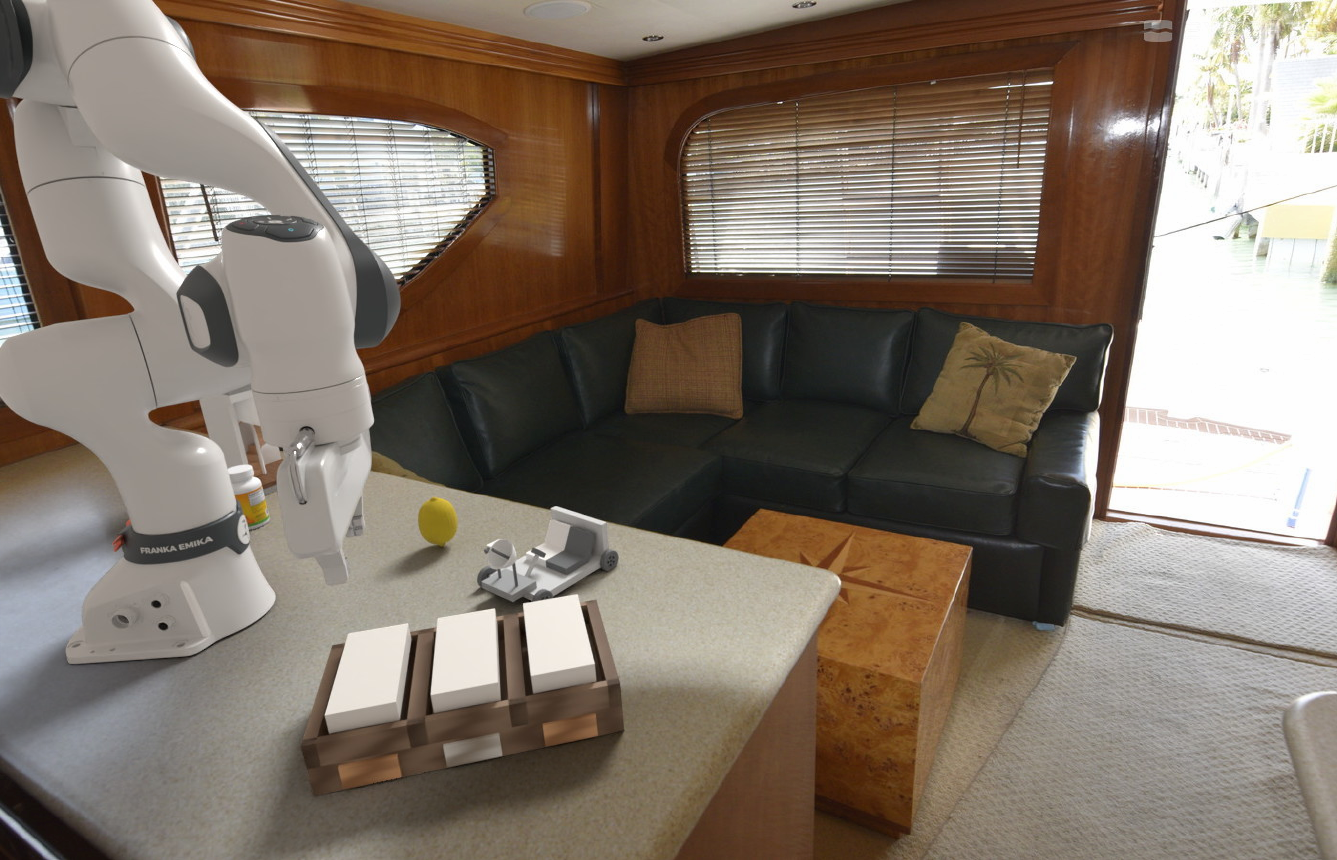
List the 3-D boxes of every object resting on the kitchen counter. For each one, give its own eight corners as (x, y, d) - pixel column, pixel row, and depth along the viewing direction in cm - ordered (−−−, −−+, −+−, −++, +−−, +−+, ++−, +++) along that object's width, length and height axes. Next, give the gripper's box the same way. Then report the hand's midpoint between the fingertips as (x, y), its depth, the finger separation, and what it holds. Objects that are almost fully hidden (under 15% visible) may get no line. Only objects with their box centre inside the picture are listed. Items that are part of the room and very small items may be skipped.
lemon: (450, 555, 108) (442, 505, 106) (415, 554, 110) (406, 504, 107) (467, 538, 114) (459, 490, 111) (434, 536, 115) (425, 488, 112)
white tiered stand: (255, 499, 133) (205, 302, 121) (223, 489, 138) (172, 299, 127) (313, 476, 142) (272, 291, 130) (281, 468, 147) (238, 289, 136)
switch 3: (533, 693, 70) (530, 676, 69) (525, 619, 82) (522, 603, 81) (596, 681, 71) (594, 663, 71) (579, 609, 83) (577, 594, 83)
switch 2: (434, 713, 68) (430, 695, 68) (440, 634, 80) (437, 618, 80) (500, 700, 70) (498, 682, 69) (497, 624, 82) (494, 608, 81)
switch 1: (329, 733, 66) (324, 715, 66) (351, 649, 78) (348, 633, 78) (399, 720, 68) (395, 701, 67) (411, 639, 80) (408, 623, 79)
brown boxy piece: (312, 798, 66) (299, 749, 65) (342, 688, 81) (332, 645, 79) (624, 732, 72) (620, 685, 70) (600, 640, 87) (596, 599, 85)
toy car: (511, 556, 87) (450, 532, 94) (521, 628, 91) (462, 600, 98) (614, 501, 101) (554, 484, 108) (619, 566, 104) (561, 545, 111)
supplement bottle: (226, 529, 121) (211, 473, 118) (254, 515, 126) (240, 461, 123) (249, 533, 119) (235, 477, 116) (277, 519, 124) (264, 464, 121)
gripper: (334, 445, 55) (368, 608, 60) (370, 380, 74) (395, 507, 78) (241, 457, 54) (283, 623, 58) (302, 387, 73) (331, 516, 77)
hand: (347, 555), depth 69 cm, fingers open, 8 cm apart
